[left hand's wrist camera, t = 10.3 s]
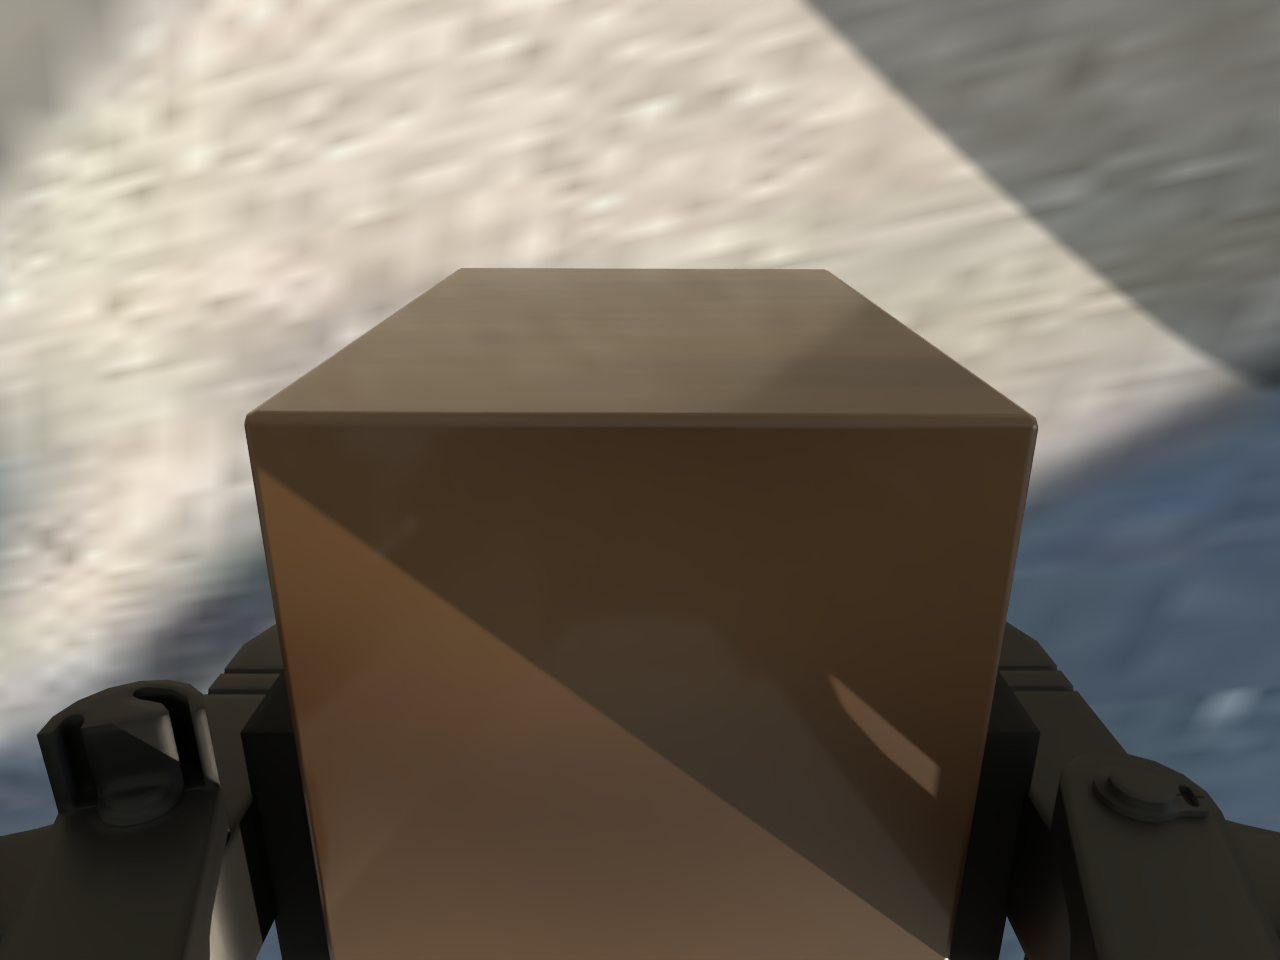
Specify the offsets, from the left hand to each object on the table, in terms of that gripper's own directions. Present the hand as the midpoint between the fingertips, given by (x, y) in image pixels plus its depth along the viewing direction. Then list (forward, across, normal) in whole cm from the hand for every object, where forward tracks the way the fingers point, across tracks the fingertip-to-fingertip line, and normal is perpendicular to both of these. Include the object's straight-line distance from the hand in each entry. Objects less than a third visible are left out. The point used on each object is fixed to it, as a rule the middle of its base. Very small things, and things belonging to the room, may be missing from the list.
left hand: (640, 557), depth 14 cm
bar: (+1, 0, -26) cm, 26 cm away
